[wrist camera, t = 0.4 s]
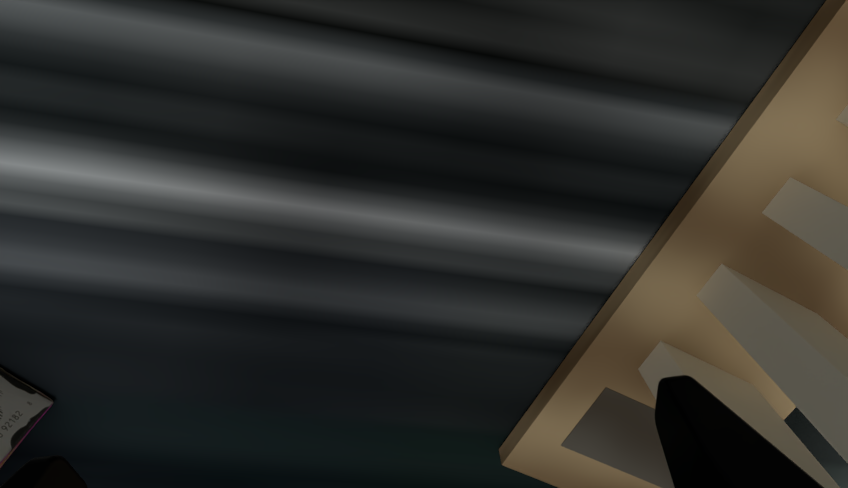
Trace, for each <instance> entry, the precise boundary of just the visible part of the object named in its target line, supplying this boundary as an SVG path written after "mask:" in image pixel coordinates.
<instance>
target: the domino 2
mask: <svg viewBox="0 0 848 488" xmlns="http://www.w3.org/2000/svg"><path fill="white" fill-rule="evenodd" d="M638 370H639V372H640V373H641V375H642V377H643V379H644V380H645V382H646V384H647V385H648V387H649V389H650V391H651V392H652V394H653V396H654V397H655V399H656V398H657V390H658V384H659V381H660V380H661V379H662V378H665V377H672V376H680V375H688V376H691V377H692V378H694V379H695V380H696V381H698V382H699V383H700V384H701V385H702V386H704V387H705V388H706V389H707V390H708V391H710V392H711V393H712V394H713V395H714V396H716V397H717V398H718V399H719V400H720V401H721V402H723V403H724V404H725V405H726V406H727V407H729V408H730V409H731V410H732V411H733V412H735V413H736V414H737V415H738V416H739V417H741V418H742V419H743V420H744V421H745V422H747V423H748V424H749V425H750V426H751V427H752V428H754V429H755V430H756V431H757V432H758V433H760V434H761V435H762V436H763V437H764V438H766V439H767V440H768V441H769V442H770V443H772V444H773V445H774V446H775V447H776V448H778V449H779V450H780V451H781V452H782V453H783V454H785V455H786V456H787V457H788V458H789V459H791V460H792V461H793V462H794V463H795V464H797V465H798V466H799V467H800V468H801V469H803V470H804V471H805V472H806V473H807V474H809V475H810V476H811V477H812V478H813V479H815V480H816V481H817V482H818V483H819V484H820V485H822V486H823V487H824V488H840V487H839V486H838V485H837V483H836V482H835V481H834V480H833V479H832V478H831V476H830V475H829V474H828V473H827V472H826V470H825V469H824V468H823V467H822V466H821V464H820V463H819V462H818V461H817V460H816V459H815V457H814V456H813V455H812V454H811V453H810V451H809V450H808V449H807V448H806V447H805V446H804V444H803V443H802V442H801V441H800V440H799V438H798V437H797V436H796V435H795V434H794V433H793V431H792V430H791V429H790V428H789V427H788V425H787V424H786V423H785V422H784V421H783V419H782V418H781V417H780V416H779V415H778V414H777V412H776V411H775V410H774V409H773V408H772V406H771V405H770V404H769V403H768V402H767V401H766V399H765V398H764V397H763V396H762V395H761V393H760V392H759V391H758V390H757V389H756V387H755V386H754V385H752V384H750V383H748V382H746V381H744V380H742V379H740V378H738V377H736V376H734V375H731V374H729V373H727V372H725V371H723V370H721V369H719V368H717V367H715V366H713V365H710V364H708V363H706V362H704V361H702V360H700V359H698V358H696V357H694V356H692V355H690V354H687V353H685V352H683V351H681V350H679V349H677V348H675V347H673V346H671V345H669V344H666V343H664V342H662V341H660V342H659V343H658V345H657V346H656V347H655V348H654V350H653V351H652V352H651V353H650V355H649V356H648V357H647V358H646V360H645V361H644V362H643V363H642V365H641V366H640V367H639V369H638Z"/></svg>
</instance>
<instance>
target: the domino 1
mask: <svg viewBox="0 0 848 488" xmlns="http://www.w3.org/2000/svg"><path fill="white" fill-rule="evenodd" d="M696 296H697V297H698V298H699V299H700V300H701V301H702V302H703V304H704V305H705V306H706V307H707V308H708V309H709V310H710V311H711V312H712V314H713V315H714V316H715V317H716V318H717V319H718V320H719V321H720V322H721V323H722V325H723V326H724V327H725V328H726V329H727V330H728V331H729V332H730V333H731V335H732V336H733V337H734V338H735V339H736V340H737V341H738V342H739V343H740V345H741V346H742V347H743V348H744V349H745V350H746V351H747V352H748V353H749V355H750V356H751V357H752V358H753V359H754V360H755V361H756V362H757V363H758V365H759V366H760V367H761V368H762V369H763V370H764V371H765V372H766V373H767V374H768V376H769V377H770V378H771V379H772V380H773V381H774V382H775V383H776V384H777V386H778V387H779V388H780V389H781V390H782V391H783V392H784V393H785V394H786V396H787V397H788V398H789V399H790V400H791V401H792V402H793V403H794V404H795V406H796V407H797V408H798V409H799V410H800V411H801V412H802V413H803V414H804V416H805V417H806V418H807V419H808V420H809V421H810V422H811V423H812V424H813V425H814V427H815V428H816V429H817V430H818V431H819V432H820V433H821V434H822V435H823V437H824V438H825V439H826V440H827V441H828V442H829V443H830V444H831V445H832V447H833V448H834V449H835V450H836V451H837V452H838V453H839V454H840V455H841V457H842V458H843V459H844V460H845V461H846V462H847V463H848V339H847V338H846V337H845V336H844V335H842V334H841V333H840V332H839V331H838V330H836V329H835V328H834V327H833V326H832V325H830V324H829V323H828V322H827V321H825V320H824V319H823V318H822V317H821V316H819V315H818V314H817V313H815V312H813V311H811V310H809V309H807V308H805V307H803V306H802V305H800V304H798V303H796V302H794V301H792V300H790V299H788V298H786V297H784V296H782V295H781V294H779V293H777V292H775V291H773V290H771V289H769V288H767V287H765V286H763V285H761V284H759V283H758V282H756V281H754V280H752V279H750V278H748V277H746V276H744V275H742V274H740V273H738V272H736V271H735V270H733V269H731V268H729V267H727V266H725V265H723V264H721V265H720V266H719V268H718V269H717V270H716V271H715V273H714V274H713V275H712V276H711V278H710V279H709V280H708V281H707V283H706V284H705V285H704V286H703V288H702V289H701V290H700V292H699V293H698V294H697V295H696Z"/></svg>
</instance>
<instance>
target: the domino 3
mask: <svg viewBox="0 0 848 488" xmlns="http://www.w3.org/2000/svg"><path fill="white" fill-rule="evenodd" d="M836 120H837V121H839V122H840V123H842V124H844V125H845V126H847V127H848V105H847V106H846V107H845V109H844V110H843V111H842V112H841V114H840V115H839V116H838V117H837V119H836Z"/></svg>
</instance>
